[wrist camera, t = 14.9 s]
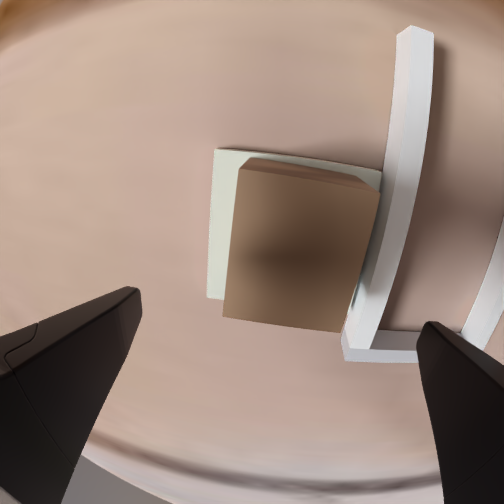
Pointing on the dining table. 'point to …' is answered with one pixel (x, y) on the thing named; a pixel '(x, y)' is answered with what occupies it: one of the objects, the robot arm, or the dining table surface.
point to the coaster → (224, 201)
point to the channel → (408, 221)
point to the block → (297, 244)
